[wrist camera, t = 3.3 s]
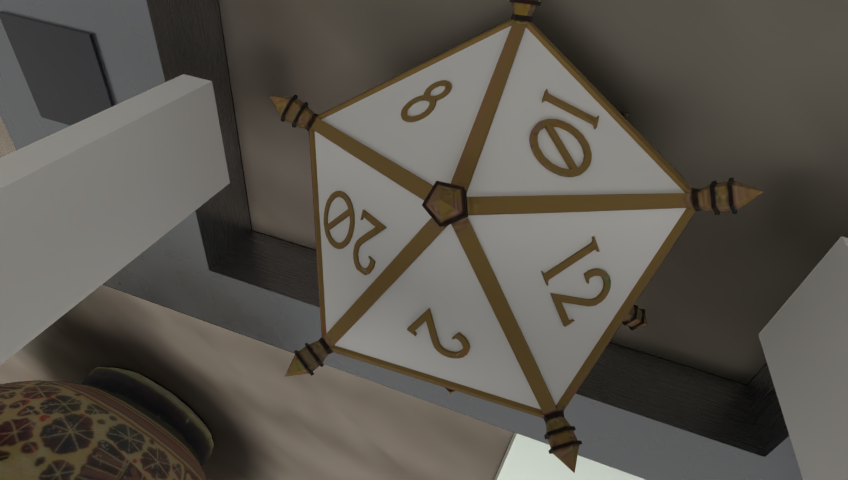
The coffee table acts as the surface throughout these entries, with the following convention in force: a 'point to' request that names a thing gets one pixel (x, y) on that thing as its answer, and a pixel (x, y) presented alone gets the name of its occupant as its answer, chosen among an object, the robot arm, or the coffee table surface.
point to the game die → (489, 223)
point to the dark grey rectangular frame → (297, 266)
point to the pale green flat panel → (550, 464)
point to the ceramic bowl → (99, 430)
